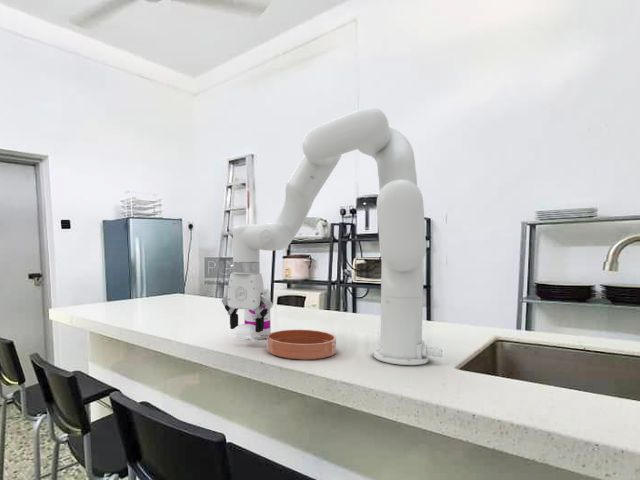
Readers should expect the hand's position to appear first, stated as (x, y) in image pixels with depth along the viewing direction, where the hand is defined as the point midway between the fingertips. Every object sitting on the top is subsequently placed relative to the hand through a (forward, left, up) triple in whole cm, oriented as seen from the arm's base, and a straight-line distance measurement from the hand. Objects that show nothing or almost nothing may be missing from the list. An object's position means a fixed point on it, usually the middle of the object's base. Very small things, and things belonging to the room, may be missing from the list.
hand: (246, 329), depth 112 cm
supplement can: (+3, -11, -5) cm, 12 cm away
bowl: (-16, -2, -5) cm, 17 cm away
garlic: (0, 0, -3) cm, 3 cm away
